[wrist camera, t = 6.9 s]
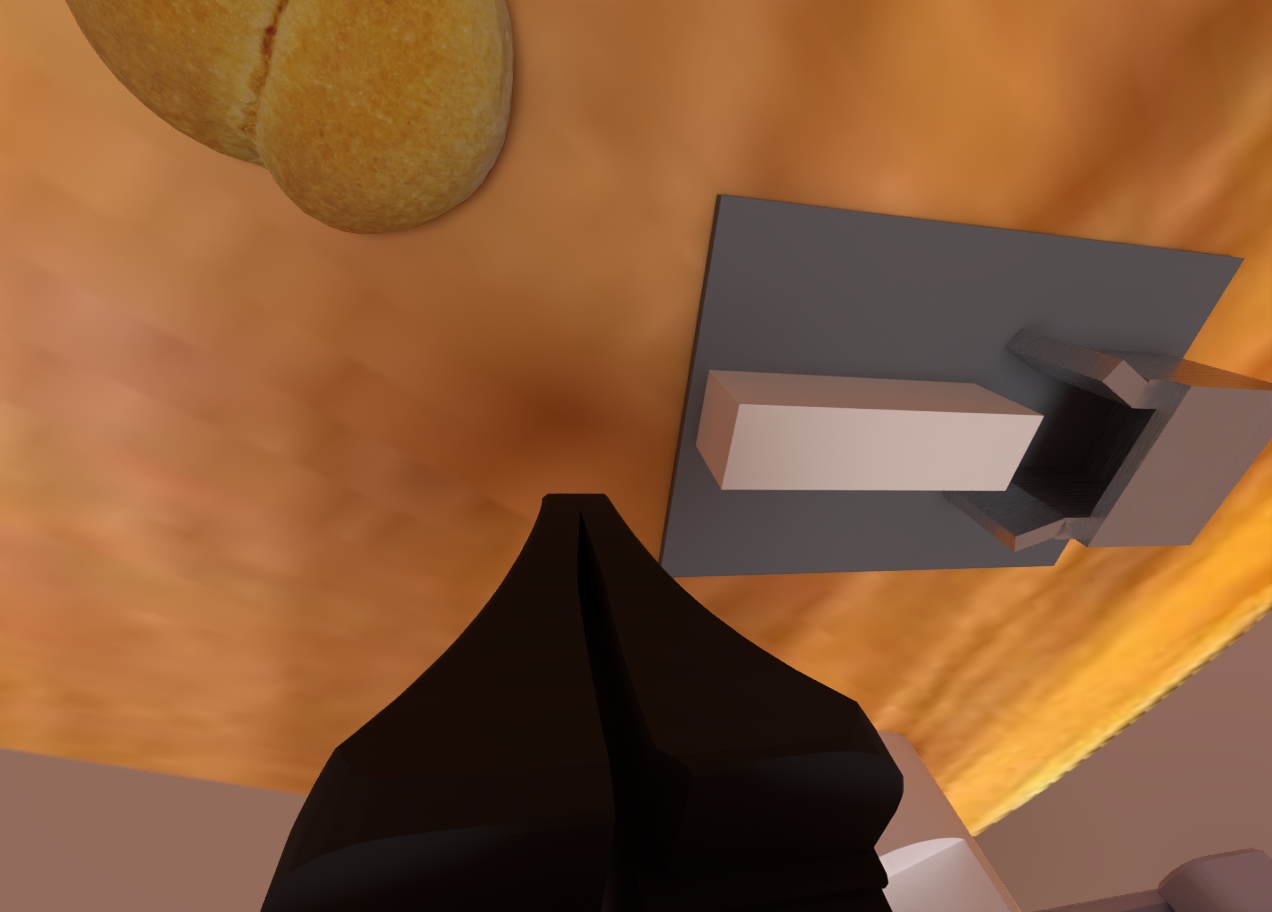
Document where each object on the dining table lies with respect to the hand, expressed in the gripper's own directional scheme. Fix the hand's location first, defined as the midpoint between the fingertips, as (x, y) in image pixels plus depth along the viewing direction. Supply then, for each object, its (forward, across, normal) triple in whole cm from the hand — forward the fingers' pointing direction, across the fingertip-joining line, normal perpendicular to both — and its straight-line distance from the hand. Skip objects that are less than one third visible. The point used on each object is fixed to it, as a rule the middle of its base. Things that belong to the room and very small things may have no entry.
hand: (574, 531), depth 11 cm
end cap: (+7, -21, 0) cm, 22 cm away
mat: (+8, -15, +1) cm, 17 cm away
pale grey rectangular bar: (+7, -11, 0) cm, 13 cm away
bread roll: (+8, +6, -10) cm, 14 cm away
